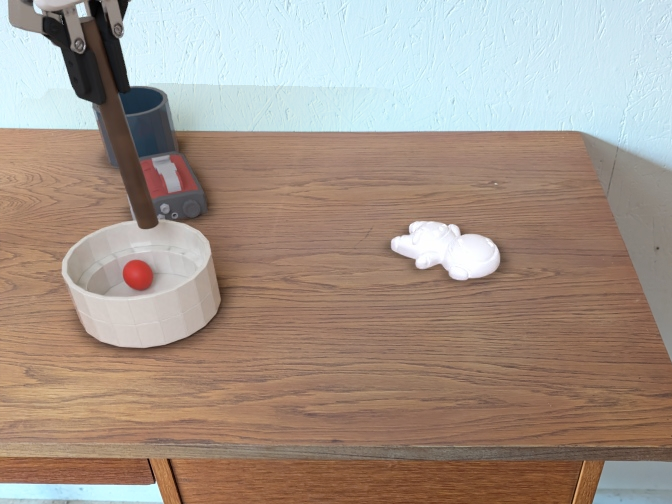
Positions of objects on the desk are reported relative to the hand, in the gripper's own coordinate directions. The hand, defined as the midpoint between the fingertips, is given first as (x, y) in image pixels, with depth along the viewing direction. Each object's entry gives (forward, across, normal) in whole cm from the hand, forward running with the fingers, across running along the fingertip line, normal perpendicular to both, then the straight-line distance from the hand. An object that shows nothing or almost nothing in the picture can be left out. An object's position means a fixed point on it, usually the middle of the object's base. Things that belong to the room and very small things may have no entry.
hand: (103, 93), depth 62 cm
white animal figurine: (+19, -23, +22) cm, 37 cm away
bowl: (+19, +3, +2) cm, 20 cm away
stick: (+12, 0, +2) cm, 12 cm away
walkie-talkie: (+20, -12, -10) cm, 25 cm away
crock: (+20, -21, -23) cm, 37 cm away
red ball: (+17, +1, -1) cm, 17 cm away
